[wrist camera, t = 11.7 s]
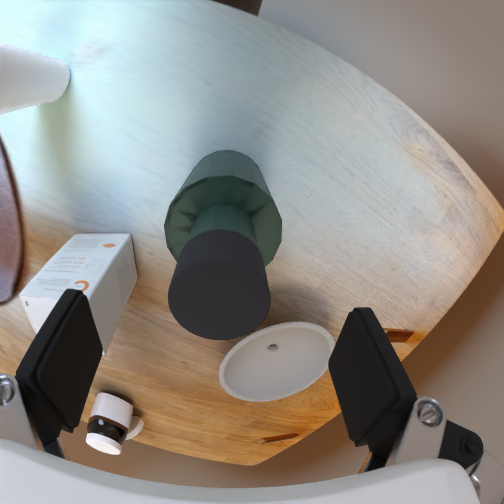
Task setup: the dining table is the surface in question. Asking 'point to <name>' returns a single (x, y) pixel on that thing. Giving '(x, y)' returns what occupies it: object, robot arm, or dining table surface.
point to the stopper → (219, 286)
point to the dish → (276, 361)
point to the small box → (86, 280)
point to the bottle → (224, 204)
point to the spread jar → (111, 422)
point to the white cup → (29, 78)
